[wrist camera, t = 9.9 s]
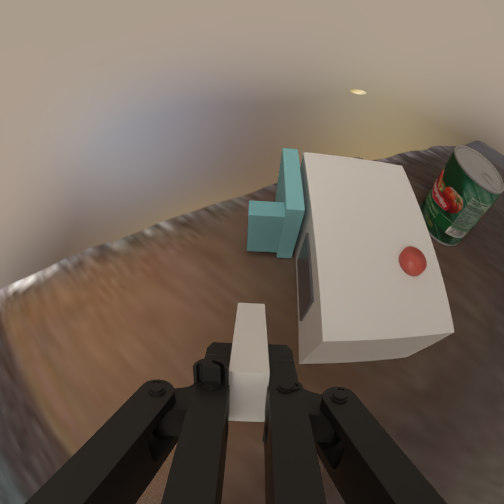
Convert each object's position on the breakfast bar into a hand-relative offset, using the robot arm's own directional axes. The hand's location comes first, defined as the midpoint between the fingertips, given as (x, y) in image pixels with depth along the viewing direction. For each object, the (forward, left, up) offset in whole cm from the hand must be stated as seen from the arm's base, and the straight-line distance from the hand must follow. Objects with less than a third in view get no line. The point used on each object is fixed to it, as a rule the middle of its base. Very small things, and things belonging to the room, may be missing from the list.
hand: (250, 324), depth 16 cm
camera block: (-13, -3, -9) cm, 16 cm away
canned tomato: (-31, -4, -9) cm, 32 cm away
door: (-8, -12, -9) cm, 17 cm away
